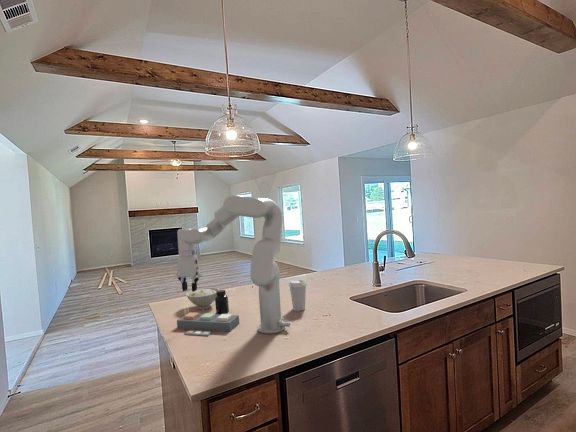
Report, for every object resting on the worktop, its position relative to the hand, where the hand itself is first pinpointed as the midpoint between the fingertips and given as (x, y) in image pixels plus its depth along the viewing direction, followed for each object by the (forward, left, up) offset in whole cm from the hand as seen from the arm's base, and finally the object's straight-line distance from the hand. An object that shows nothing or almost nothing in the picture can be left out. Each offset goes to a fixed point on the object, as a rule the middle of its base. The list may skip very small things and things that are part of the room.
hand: (189, 290), depth 157 cm
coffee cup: (-47, -29, -18) cm, 58 cm away
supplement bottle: (-7, -18, -18) cm, 26 cm away
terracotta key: (0, 0, -15) cm, 15 cm away
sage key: (-9, 0, -15) cm, 18 cm away
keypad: (-9, 0, -17) cm, 20 cm away
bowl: (+9, -26, -18) cm, 33 cm away
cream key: (-18, 0, -15) cm, 23 cm away
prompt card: (-9, +9, -17) cm, 22 cm away
